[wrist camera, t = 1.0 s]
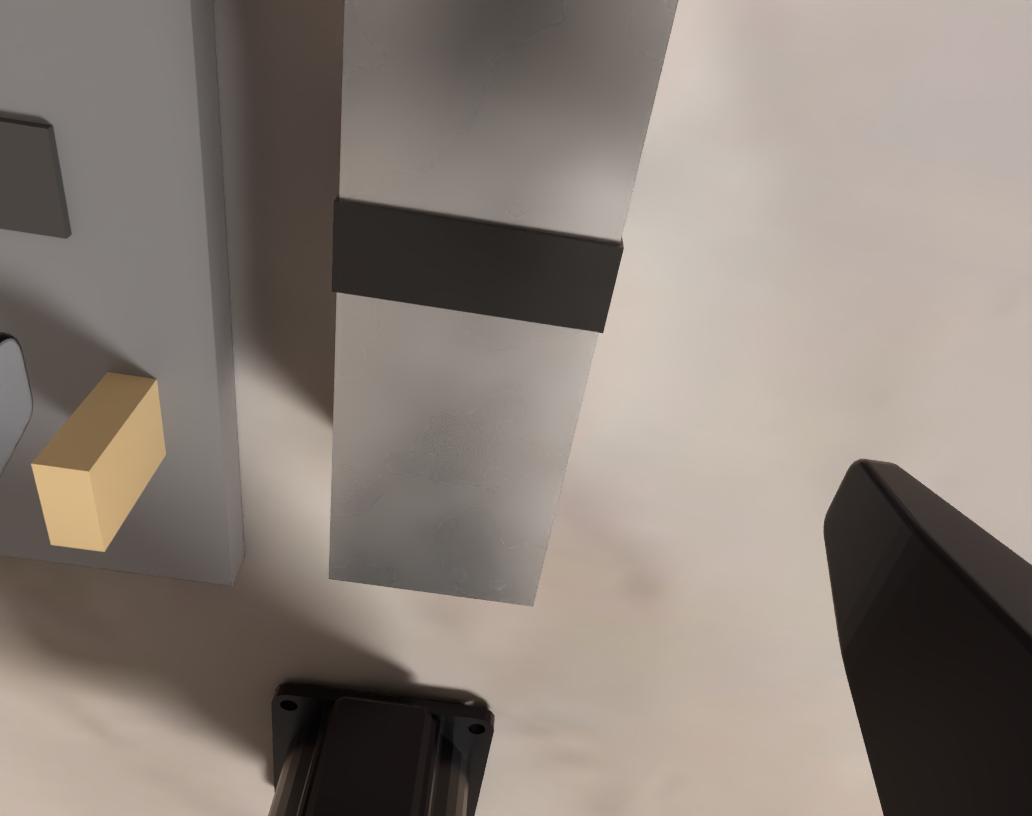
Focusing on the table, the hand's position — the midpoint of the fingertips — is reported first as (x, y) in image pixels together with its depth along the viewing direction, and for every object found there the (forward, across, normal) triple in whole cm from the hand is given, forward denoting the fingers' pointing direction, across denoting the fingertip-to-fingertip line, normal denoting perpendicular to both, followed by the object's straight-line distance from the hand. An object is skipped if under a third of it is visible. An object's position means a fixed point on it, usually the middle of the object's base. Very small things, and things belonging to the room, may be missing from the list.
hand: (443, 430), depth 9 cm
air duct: (+8, 0, 0) cm, 8 cm away
